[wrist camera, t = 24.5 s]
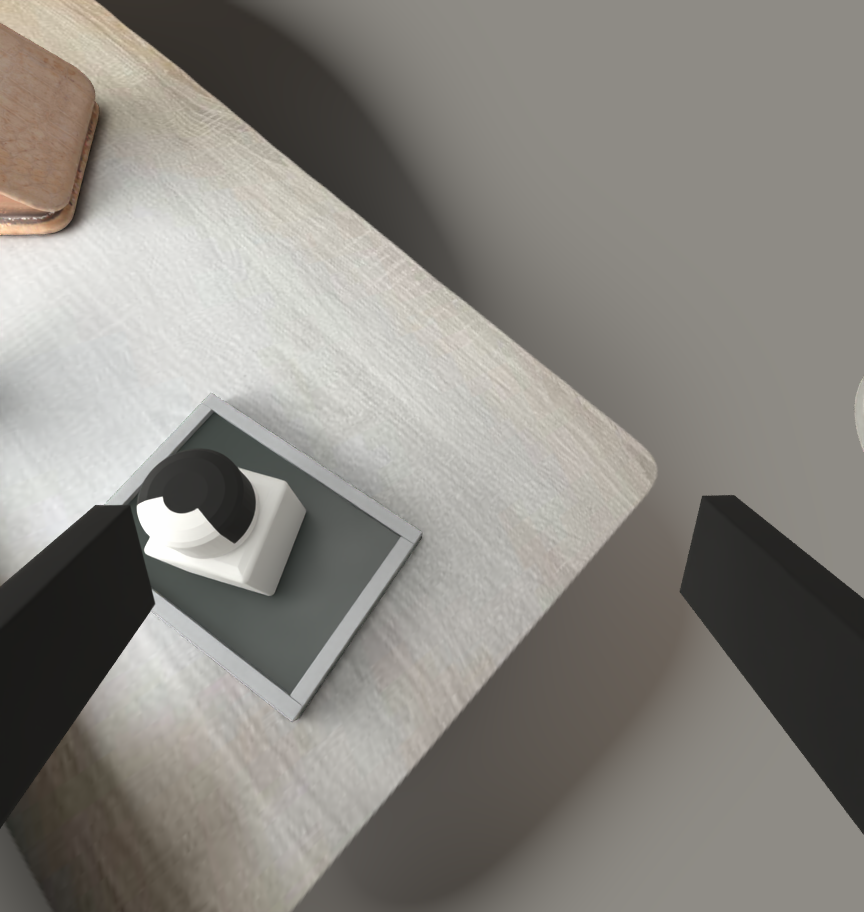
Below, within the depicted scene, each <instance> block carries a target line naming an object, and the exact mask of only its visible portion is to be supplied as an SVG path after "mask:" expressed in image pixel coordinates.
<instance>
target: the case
mask: <svg viewBox="0 0 864 912" xmlns="http://www.w3.org/2000/svg"><path fill="white" fill-rule="evenodd" d="M98 117H99V106H98V104H97V103H96V101H95V89H94V87H93V85H92V83H91V81H90V80H89V79H88V78H87V77H86V75H85V74H84V73H82V72H81V71H80V70H79V69H77V68H76V67H74V66H73V65H71V64H70V63H68V62H66V61H64V60H63V59H61V58H59V57H58V56H56V55H54V54H53V53H51V52H49V51H47V50H46V49H44V48H42V47H40V46H39V45H37V44H35V43H34V42H32V41H31V40H29V39H27V38H25V37H23V36H22V35H20V34H18V33H17V32H15V31H13V30H12V29H10V28H8V27H7V26H5V25H3V24H1V23H0V235H27V234H49V233H54V232H57V231H60V230H62V229H63V228H65V227H66V226H67V225H68V224H69V223H70V222H71V220H72V218H73V215H74V212H75V209H76V204H77V199H78V196H79V191H80V187H81V183H82V180H83V175H84V171H85V167H86V163H87V160H88V155H89V152H90V148H91V144H92V140H93V136H94V132H95V129H96V125H97V121H98Z"/></svg>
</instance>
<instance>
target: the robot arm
mask: <svg viewBox="0 0 864 912" xmlns="http://www.w3.org/2000/svg"><path fill="white" fill-rule="evenodd" d="M680 593H681V594H682V595H683V597H684V598H685V599H686V601H687V602H688V603H689V605H690V606H691V607H692V609H693V610H694V611H695V613H696V614H697V615H698V617H699V618H700V619H701V620H702V622H703V623H704V625H705V626H706V627H707V628H708V630H709V631H710V633H711V634H712V635H713V636H714V638H715V639H716V640H717V642H718V643H719V644H720V646H721V647H722V648H723V650H724V651H725V652H726V654H727V655H728V656H729V657H730V659H731V660H732V662H733V663H734V664H735V665H736V667H737V668H738V669H739V671H740V672H741V673H742V675H743V676H744V677H745V679H746V680H747V681H748V683H749V684H750V685H751V686H752V688H753V689H754V690H755V692H756V693H757V694H758V696H759V697H760V698H761V700H762V701H763V702H764V704H765V705H766V706H767V708H768V709H769V710H770V712H771V713H772V714H773V716H774V717H775V718H776V720H777V721H778V722H779V724H780V725H781V726H782V727H783V729H784V730H785V731H786V733H787V734H788V735H789V737H790V738H791V739H792V741H793V742H794V743H795V745H796V746H797V747H798V749H799V750H800V751H801V753H802V754H803V755H804V756H805V758H806V759H807V760H808V762H809V763H810V764H811V766H812V767H813V768H814V769H815V771H816V772H817V774H818V775H819V776H820V778H821V779H822V780H823V781H824V783H825V784H826V786H827V787H828V788H829V789H830V791H831V792H832V793H833V795H834V796H835V797H836V799H837V800H838V801H839V803H840V804H841V805H842V806H843V808H844V809H845V811H846V812H847V813H848V814H849V816H850V817H851V818H852V820H853V821H854V822H855V824H856V825H857V826H858V828H859V829H860V830H861V832H862V833H863V834H864V599H863V598H862V597H861V596H860V595H858V594H857V593H856V592H854V591H853V590H852V589H851V588H850V587H848V586H847V585H846V584H845V583H843V582H842V581H841V580H839V579H838V578H837V577H836V576H834V575H833V574H832V573H831V572H830V571H828V570H827V569H826V568H824V567H823V566H822V565H821V564H820V563H818V562H817V561H816V560H814V559H813V558H812V557H811V556H810V555H808V554H807V553H806V552H804V551H803V550H802V549H801V548H799V547H798V546H797V545H796V544H795V543H793V542H792V541H791V540H789V539H788V538H787V537H786V536H784V535H783V534H782V533H781V532H779V531H778V530H777V529H776V528H774V527H773V526H772V525H771V524H769V523H768V522H767V521H766V520H764V519H763V518H762V517H761V516H759V515H758V514H757V513H756V512H754V511H753V510H752V509H751V508H749V507H748V506H747V505H746V504H744V503H743V502H742V501H741V500H739V499H738V498H737V497H736V496H734V495H722V496H702V499H701V503H700V508H699V512H698V516H697V521H696V525H695V529H694V533H693V538H692V542H691V546H690V550H689V554H688V559H687V563H686V567H685V572H684V576H683V580H682V584H681V588H680ZM154 605H155V600H154V596H153V592H152V588H151V584H150V580H149V576H148V572H147V569H146V565H145V561H144V557H143V553H142V549H141V545H140V541H139V537H138V533H137V530H136V526H135V522H134V518H133V514H132V510H131V506H130V505H95V506H94V507H93V508H92V509H90V510H89V511H88V512H87V513H86V514H85V515H83V516H82V517H81V518H80V519H79V520H78V521H76V522H75V523H74V524H73V525H72V526H70V527H69V528H68V529H67V530H66V531H65V532H63V533H62V534H61V535H60V536H59V537H58V538H56V539H55V540H54V541H53V542H52V543H51V544H49V545H48V546H47V547H46V548H45V549H44V550H42V551H41V552H40V553H39V554H38V555H37V556H35V557H34V558H33V559H32V560H31V561H30V562H28V563H27V564H26V565H25V566H24V567H23V568H21V569H20V570H19V571H18V572H17V573H16V574H14V575H13V576H12V577H11V578H10V579H9V580H7V581H6V582H5V583H4V584H3V585H2V586H0V828H1V826H2V825H3V824H4V822H5V821H6V819H7V818H8V816H9V815H10V814H11V812H12V811H13V809H14V808H15V806H16V805H17V803H18V802H19V801H20V799H21V798H22V796H23V795H24V793H25V792H26V790H27V789H28V788H29V786H30V785H31V783H32V782H33V780H34V779H35V777H36V776H37V775H38V773H39V772H40V770H41V769H42V767H43V766H44V764H45V763H46V761H47V760H48V759H49V757H50V756H51V754H52V753H53V751H54V750H55V748H56V747H57V746H58V744H59V743H60V741H61V740H62V738H63V737H64V735H65V734H66V733H67V731H68V730H69V728H70V727H71V725H72V724H73V722H74V721H75V720H76V718H77V717H78V715H79V714H80V712H81V711H82V709H83V708H84V707H85V705H86V704H87V702H88V701H89V699H90V698H91V696H92V695H93V694H94V692H95V691H96V689H97V688H98V686H99V685H100V683H101V682H102V681H103V679H104V678H105V676H106V675H107V673H108V672H109V670H110V669H111V668H112V666H113V665H114V663H115V662H116V660H117V659H118V657H119V656H120V654H121V653H122V652H123V650H124V649H125V647H126V646H127V644H128V643H129V641H130V640H131V639H132V637H133V636H134V634H135V633H136V631H137V630H138V628H139V627H140V626H141V624H142V623H143V621H144V620H145V618H146V617H147V615H148V614H149V613H150V611H151V610H152V608H153V607H154Z"/></svg>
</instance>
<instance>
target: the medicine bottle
mask: <svg viewBox="0 0 864 912" xmlns="http://www.w3.org/2000/svg"><path fill="white" fill-rule="evenodd" d="M137 514H138V518H139V521H140V523H141V525H142V527H143V529H144V530H145V532H146V533H147V534H148V535H149V536H150V538H149V540H148V542H147V544H146V546H145V549H144V551H145V553H146V554H147V555H149V556H151V557H154V558H156V559H158V560H161V561H163V562H166V563H168V564H171V565H173V566H176V567H178V568H181V569H183V570H185V571H188V572H191V573H194V574H198V575H201V576H204V577H207V578H211V579H214V580H217V581H221V582H224V583H227V584H231V585H234V586H237V587H241V588H244V589H247V590H251V591H254V592H257V593H261V594H264V595H267V596H271V595H273V594H274V593H275V591H276V588H277V586H278V583H279V580H280V578H281V575H282V573H283V570H284V568H285V565H286V562H287V560H288V557H289V555H290V552H291V550H292V547H293V544H294V542H295V539H296V537H297V534H298V532H299V529H300V526H301V524H302V521H303V519H304V516H305V514H306V509H305V508H304V506H303V505H302V503H301V502H300V501H299V499H298V498H297V496H296V495H295V494H294V492H293V491H292V489H291V488H290V486H289V485H288V484H287V482H286V481H284V480H280V479H277V478H273V477H269V476H266V475H262V474H259V473H255V472H252V471H248V470H245V469H241V468H238V467H237V466H236V465H235V464H234V463H233V462H232V461H231V460H230V459H229V458H228V457H226V456H225V455H223V454H221V453H219V452H217V451H214V450H210V449H202V448H197V449H188V450H184V451H180V452H177V453H175V454H173V455H171V456H169V457H167V458H165V459H164V460H162V461H161V462H160V463H159V464H157V465H156V466H155V467H154V468H153V469H152V470H151V471H150V473H149V474H148V475H147V477H146V478H145V480H144V482H143V484H142V485H141V488H140V491H139V494H138V499H137Z"/></svg>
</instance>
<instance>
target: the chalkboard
mask: <svg viewBox="0 0 864 912" xmlns="http://www.w3.org/2000/svg"><path fill="white" fill-rule="evenodd" d="M197 448H202V449H210V450H214V451H217V452H219V453H221V454H223V455H225V456H226V457H228V458H229V459H230V460H231V461H232V462H233V463H234V464H235V465H236V466H237V467H238V468H241V469H245V470H248V471H252V472H255V473H259V474H262V475H266V476H269V477H273V478H277V479H280V480H284V481H286V482H287V484H288V485H289V486H290V488H291V489H292V491H293V492H294V494H295V495H296V496H297V498H298V499H299V501H300V502H301V503H302V505H303V506H304V508H305V509H306V514H305V516H304V519H303V521H302V524H301V526H300V529H299V532H298V534H297V537H296V539H295V542H294V544H293V547H292V550H291V552H290V555H289V557H288V560H287V562H286V565H285V568H284V570H283V573H282V575H281V578H280V580H279V583H278V586H277V588H276V591H275V593H274V594H273V595H271V596H267V595H264V594H261V593H257V592H254V591H251V590H247V589H244V588H241V587H237V586H234V585H231V584H227V583H224V582H221V581H217V580H214V579H211V578H207V577H204V576H201V575H198V574H194V573H191V572H188V571H185V570H183V569H181V568H178V567H176V566H173V565H171V564H168V563H166V562H163V561H161V560H158V559H156V558H154V557H151V556H149V555H147V554H146V553H145V551H144V549H145V546H146V544H147V542H148V540H149V538H150V536H149V535H148V534H147V533H146V532H145V530H144V529H143V527H142V525H141V523H140V521H139V518H138V514H137V499H138V494H139V491H140V488H141V485H142V484H143V482H144V480H145V478H146V477H147V475H148V474H149V473H150V471H151V470H152V469H153V468H154V467H155V466H156V465H157V464H159V463H160V462H161V461H162V460H164V459H165V458H167V457H169V456H171V455H173V454H175V453H177V452H180V451H184V450H188V449H197ZM104 505H130V506H131V510H132V514H133V518H134V522H135V526H136V530H137V533H138V537H139V541H140V545H141V549H142V553H143V557H144V561H145V565H146V569H147V572H148V576H149V580H150V584H151V588H152V592H153V596H154V600H155V605H154V607H153V608H152V610H151V612H152V613H154V614H155V615H156V616H158V617H159V618H160V619H161V620H163V621H164V622H165V623H166V624H168V625H169V626H170V627H172V628H173V629H174V630H175V631H177V632H178V633H179V634H180V635H182V636H183V637H184V638H186V639H187V640H188V641H189V642H191V643H192V644H193V645H194V646H196V647H197V648H198V649H199V650H201V651H202V652H203V653H205V654H206V655H207V656H208V657H210V658H211V659H212V660H213V661H215V662H216V663H217V664H219V665H220V666H221V667H222V668H224V669H225V670H226V671H227V672H229V673H230V674H231V675H233V676H234V677H235V678H236V679H238V680H239V681H240V682H241V683H243V684H244V685H245V686H247V687H248V688H249V689H250V690H252V691H253V692H254V693H255V694H257V695H258V696H259V697H261V698H262V699H263V700H264V701H266V702H267V703H268V704H269V705H271V706H272V707H273V708H274V709H276V710H277V711H278V712H280V713H281V714H282V715H283V716H285V717H286V718H287V719H288V720H290V721H291V722H293V721H295V720H297V719H299V717H300V716H301V714H302V713H303V711H304V710H305V709H306V707H307V706H308V704H309V703H310V701H311V700H312V698H313V697H314V695H315V694H316V692H317V691H318V689H319V688H320V687H321V685H322V684H323V682H324V681H325V679H326V678H327V676H328V675H329V673H330V672H331V670H332V669H333V667H334V666H335V665H336V663H337V662H338V660H339V659H340V657H341V656H342V654H343V653H344V651H345V650H346V648H347V647H348V646H349V644H350V643H351V641H352V640H353V638H354V637H355V635H356V634H357V632H358V631H359V629H360V628H361V626H362V625H363V624H364V622H365V621H366V619H367V618H368V616H369V615H370V613H371V612H372V610H373V609H374V607H375V606H376V604H377V603H378V602H379V600H380V599H381V597H382V596H383V594H384V593H385V591H386V590H387V588H388V587H389V585H390V584H391V582H392V581H393V580H394V578H395V577H396V575H397V574H398V572H399V571H400V569H401V568H402V566H403V565H404V563H405V562H406V560H407V559H408V558H409V556H410V555H411V553H412V552H413V550H414V549H415V547H416V546H417V544H418V543H419V541H420V540H421V538H422V531H420V530H419V529H417V528H416V527H414V526H413V525H411V524H410V523H408V522H407V521H405V520H404V519H402V518H401V517H399V516H398V515H396V514H395V513H393V512H392V511H390V510H389V509H387V508H386V507H384V506H382V505H381V504H379V503H378V502H376V501H375V500H373V499H372V498H370V497H369V496H367V495H366V494H364V493H363V492H361V491H360V490H358V489H357V488H355V487H354V486H352V485H351V484H349V483H348V482H346V481H345V480H343V479H342V478H340V477H339V476H337V475H336V474H334V473H333V472H331V471H330V470H328V469H327V468H325V467H324V466H322V465H320V464H319V463H317V462H316V461H314V460H313V459H311V458H310V457H308V456H307V455H305V454H304V453H302V452H301V451H299V450H298V449H296V448H295V447H293V446H292V445H290V444H289V443H287V442H286V441H284V440H283V439H281V438H280V437H278V436H277V435H275V434H274V433H272V432H271V431H269V430H268V429H266V428H265V427H263V426H262V425H260V424H259V423H257V422H255V421H254V420H252V419H251V418H249V417H248V416H246V415H245V414H243V413H242V412H240V411H239V410H237V409H236V408H234V407H233V406H231V405H230V404H228V403H227V402H225V401H224V400H222V399H221V398H219V397H218V396H216V395H215V394H213V393H210V394H209V395H208V396H207V397H206V398H205V399H204V400H203V401H202V403H201V404H200V405H199V406H198V407H197V408H196V409H195V410H194V411H193V412H192V413H191V414H190V415H189V416H188V417H187V418H186V419H185V420H184V421H183V422H182V423H181V425H180V426H179V427H178V428H177V429H176V430H175V431H174V432H173V433H172V434H171V435H170V436H169V437H168V438H167V439H166V440H165V441H164V442H163V443H162V444H161V446H160V447H159V448H158V449H157V450H156V451H155V452H154V453H153V454H152V455H151V456H150V457H149V458H148V459H147V460H146V461H145V462H144V463H143V464H142V465H141V467H140V468H139V469H138V470H137V471H136V472H135V473H134V474H133V475H132V476H131V477H130V478H129V479H128V480H127V481H126V482H125V483H124V484H123V485H122V486H121V488H120V489H119V490H118V491H117V492H116V493H115V494H114V495H113V496H112V497H111V498H110V499H109V500H108V501H107V502H106V503H105V504H104Z"/></svg>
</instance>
